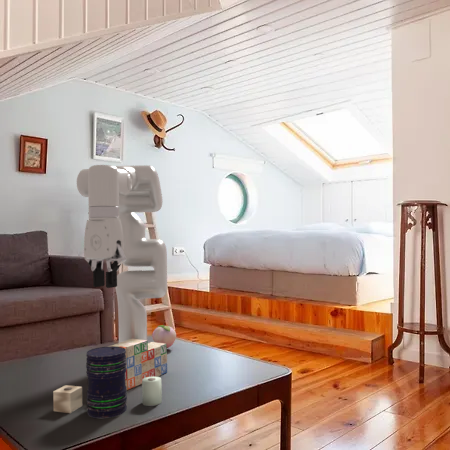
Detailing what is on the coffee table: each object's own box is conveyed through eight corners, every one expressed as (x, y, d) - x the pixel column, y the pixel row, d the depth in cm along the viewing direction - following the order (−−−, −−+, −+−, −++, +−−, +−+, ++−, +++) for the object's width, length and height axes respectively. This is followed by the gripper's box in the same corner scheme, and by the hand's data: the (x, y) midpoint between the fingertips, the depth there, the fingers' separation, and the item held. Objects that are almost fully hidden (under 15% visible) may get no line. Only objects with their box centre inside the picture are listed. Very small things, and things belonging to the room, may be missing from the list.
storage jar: (112, 420, 111) (111, 357, 111) (78, 415, 114) (77, 354, 114) (134, 405, 120) (133, 347, 120) (102, 401, 123) (101, 345, 124)
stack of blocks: (152, 370, 151) (151, 332, 151) (167, 372, 148) (167, 334, 148) (103, 390, 133) (103, 346, 133) (119, 393, 130) (119, 349, 130)
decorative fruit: (181, 349, 177) (180, 322, 177) (164, 353, 171) (163, 326, 171) (165, 345, 183) (165, 320, 183) (148, 349, 177) (148, 323, 177)
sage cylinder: (138, 403, 121) (137, 380, 121) (151, 397, 126) (150, 375, 126) (152, 407, 119) (152, 383, 119) (165, 401, 123) (165, 377, 123)
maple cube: (53, 411, 117) (53, 391, 118) (66, 404, 122) (65, 384, 122) (70, 413, 116) (70, 392, 116) (82, 406, 121) (82, 386, 121)
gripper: (70, 215, 119) (71, 286, 119) (116, 212, 110) (117, 290, 110) (93, 215, 125) (94, 283, 125) (138, 213, 116) (140, 286, 116)
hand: (105, 286), depth 117 cm, fingers open, 3 cm apart
